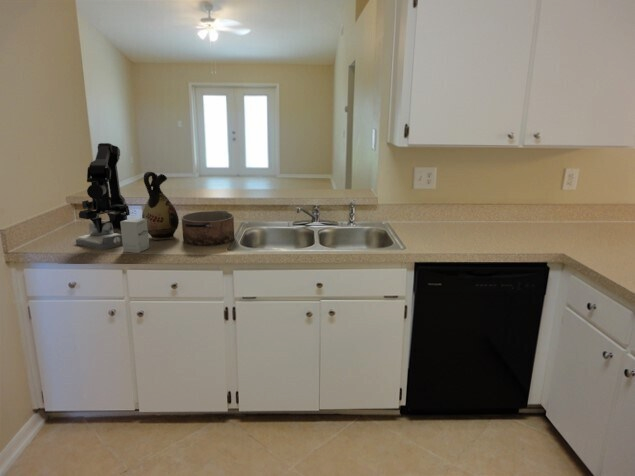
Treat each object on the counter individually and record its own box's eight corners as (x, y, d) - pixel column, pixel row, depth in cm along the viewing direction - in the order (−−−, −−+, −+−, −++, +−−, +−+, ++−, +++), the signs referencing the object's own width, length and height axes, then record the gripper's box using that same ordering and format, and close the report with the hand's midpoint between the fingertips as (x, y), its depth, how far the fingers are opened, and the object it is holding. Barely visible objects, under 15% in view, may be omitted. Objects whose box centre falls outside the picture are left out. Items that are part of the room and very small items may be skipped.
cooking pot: (219, 250, 172) (217, 225, 170) (169, 247, 176) (167, 222, 173) (244, 232, 201) (243, 210, 198) (200, 230, 205) (199, 208, 202)
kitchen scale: (105, 236, 190) (104, 228, 189) (131, 242, 182) (131, 233, 181) (76, 244, 178) (75, 235, 177) (102, 250, 170) (101, 240, 169)
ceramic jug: (159, 232, 199) (153, 168, 192) (186, 235, 194) (182, 170, 187) (133, 241, 184) (126, 172, 176) (162, 244, 179) (156, 174, 171)
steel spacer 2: (107, 231, 181) (106, 220, 180) (116, 233, 179) (115, 221, 178) (96, 234, 177) (94, 222, 175) (105, 236, 174) (103, 224, 173)
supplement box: (139, 253, 167) (136, 222, 164) (122, 251, 168) (119, 221, 165) (150, 248, 174) (147, 218, 171) (134, 246, 175) (131, 217, 172)
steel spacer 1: (96, 232, 184) (95, 221, 183) (106, 234, 183) (106, 222, 182) (86, 235, 179) (85, 224, 178) (97, 236, 178) (96, 225, 177)
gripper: (108, 190, 185) (112, 224, 189) (67, 196, 169) (73, 233, 173) (126, 192, 180) (129, 227, 184) (85, 198, 164) (90, 237, 168)
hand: (106, 231), depth 178 cm, fingers closed on steel spacer 2, 5 cm apart
